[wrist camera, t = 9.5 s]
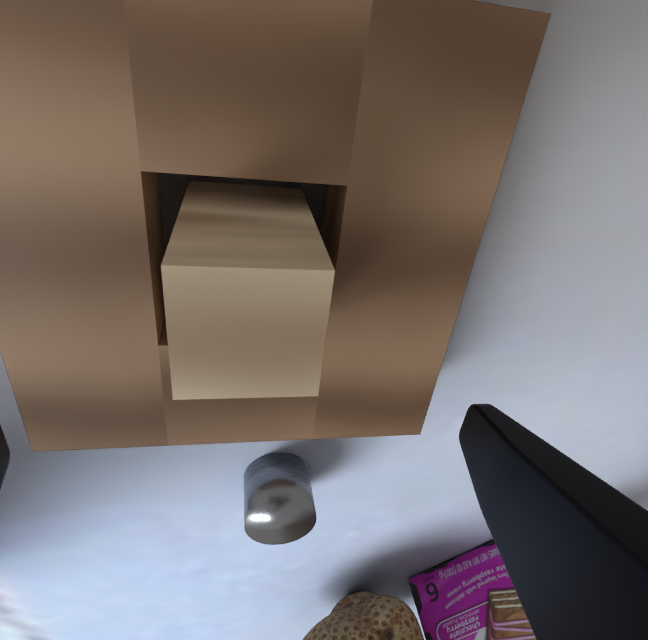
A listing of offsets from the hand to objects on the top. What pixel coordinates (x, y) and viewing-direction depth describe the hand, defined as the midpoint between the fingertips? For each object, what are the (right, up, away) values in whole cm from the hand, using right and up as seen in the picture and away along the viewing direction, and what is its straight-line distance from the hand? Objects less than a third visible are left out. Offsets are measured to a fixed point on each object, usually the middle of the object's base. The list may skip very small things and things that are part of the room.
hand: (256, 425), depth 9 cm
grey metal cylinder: (-1, -7, +16) cm, 18 cm away
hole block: (-2, +5, +8) cm, 10 cm away
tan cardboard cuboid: (-2, +5, +9) cm, 10 cm away
